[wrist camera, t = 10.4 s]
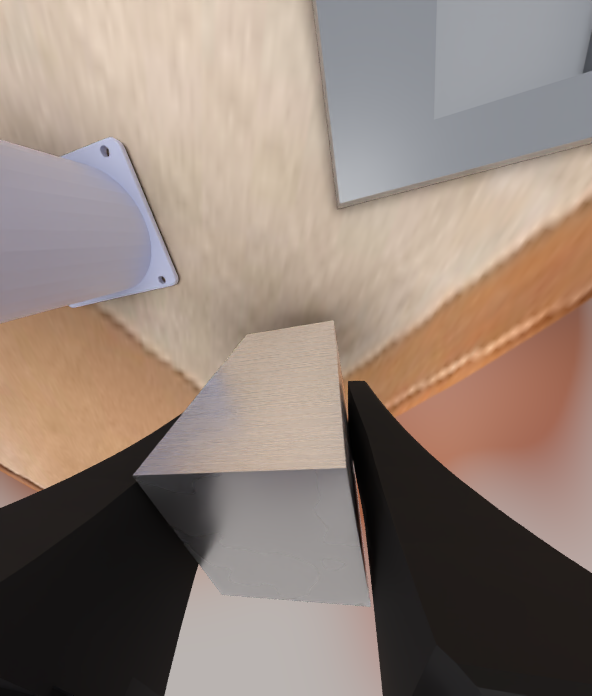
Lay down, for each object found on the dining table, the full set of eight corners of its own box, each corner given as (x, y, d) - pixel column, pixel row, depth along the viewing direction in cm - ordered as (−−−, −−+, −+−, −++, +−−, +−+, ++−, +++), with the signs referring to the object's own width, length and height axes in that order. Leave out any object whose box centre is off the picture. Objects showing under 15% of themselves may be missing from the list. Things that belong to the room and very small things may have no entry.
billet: (273, 417, 13) (222, 595, 6) (246, 334, 11) (132, 475, 4) (347, 411, 12) (370, 606, 6) (333, 320, 10) (346, 467, 4)
